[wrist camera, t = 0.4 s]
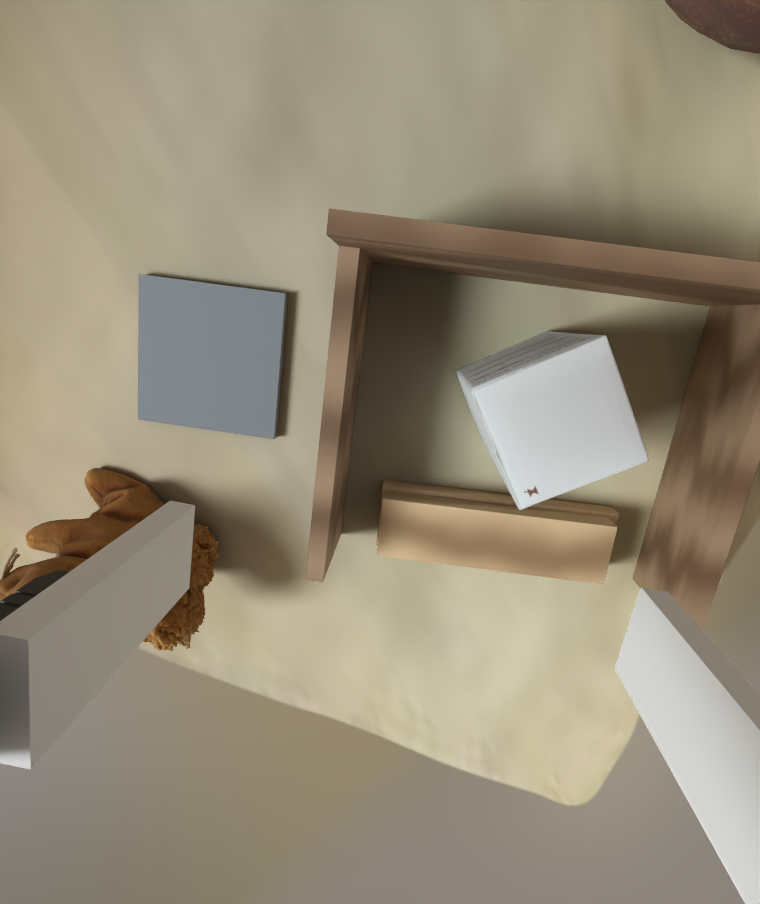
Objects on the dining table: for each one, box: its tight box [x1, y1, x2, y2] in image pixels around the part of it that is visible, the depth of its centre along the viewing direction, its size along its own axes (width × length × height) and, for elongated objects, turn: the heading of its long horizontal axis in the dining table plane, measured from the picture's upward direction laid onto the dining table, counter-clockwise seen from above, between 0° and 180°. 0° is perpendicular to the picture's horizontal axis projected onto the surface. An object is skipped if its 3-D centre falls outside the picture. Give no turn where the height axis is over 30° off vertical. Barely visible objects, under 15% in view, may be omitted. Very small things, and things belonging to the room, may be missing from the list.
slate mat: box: [138, 274, 288, 439], centre depth 39 cm, size 11×11×1 cm
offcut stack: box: [376, 479, 619, 584], centre depth 40 cm, size 5×18×4 cm, turn 84°
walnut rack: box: [306, 209, 760, 630], centre depth 33 cm, size 23×26×12 cm
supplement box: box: [456, 331, 649, 510], centre depth 32 cm, size 7×7×13 cm
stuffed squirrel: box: [0, 468, 219, 651], centre depth 38 cm, size 10×14×13 cm
